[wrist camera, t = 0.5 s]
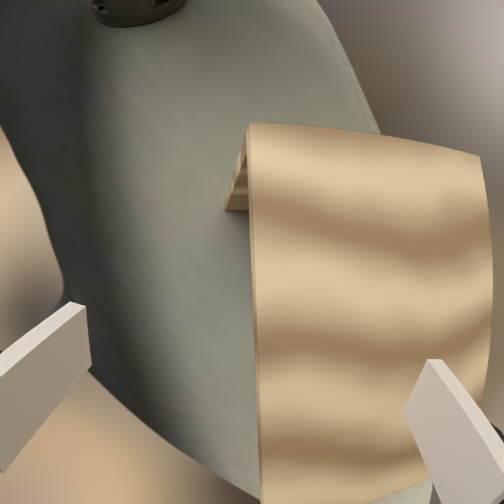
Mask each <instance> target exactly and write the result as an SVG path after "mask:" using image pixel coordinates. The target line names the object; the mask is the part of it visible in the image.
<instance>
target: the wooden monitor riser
mask: <svg viewBox="0 0 504 504" xmlns="http://www.w3.org/2000/svg"><path fill="white" fill-rule="evenodd" d="M230 210H249V220H250V247H251V273H252V298H253V324H254V349H255V375H256V400H257V425H258V449H259V474H260V498H261V504H367V503H370V502H373V501H376V500H378V499H381V498H384V497H386V496H389V495H392V494H394V493H397V492H399V491H401V490H404V489H406V488H408V487H411V486H413V485H415V484H417V483H420V482H422V481H424V480H426V479H428V478H430V477H431V476H430V474H429V472H428V469H427V467H426V465H425V462H424V460H423V458H422V455H421V453H420V451H419V448H418V446H417V444H416V442H415V440H414V437H413V435H412V433H411V431H410V428H409V426H408V424H407V422H406V420H405V418H404V416H403V413H402V410H403V408H404V406H405V405H406V403H407V401H408V399H409V397H410V395H411V393H412V391H413V389H414V387H415V385H416V383H417V380H418V378H419V376H420V374H421V372H422V370H423V367H424V365H425V363H426V361H427V359H442V360H443V361H444V363H445V364H446V365H447V366H448V368H449V369H450V370H451V371H452V373H453V374H454V375H455V377H456V378H457V379H458V380H459V382H460V383H461V384H462V386H463V387H464V388H465V390H466V391H467V392H468V394H469V395H470V396H471V398H472V399H473V400H474V402H475V403H476V404H477V406H478V407H479V408H480V405H481V401H482V396H483V390H484V385H485V379H486V372H487V365H488V357H489V349H490V339H491V326H492V307H493V264H492V244H491V231H490V221H489V212H488V204H487V197H486V191H485V184H484V178H483V173H482V168H481V163H480V158H479V156H476V155H473V154H469V153H465V152H462V151H458V150H453V149H449V148H445V147H441V146H436V145H431V144H427V143H422V142H417V141H412V140H407V139H401V138H396V137H391V136H385V135H378V134H372V133H365V132H358V131H350V130H342V129H334V128H324V127H314V126H303V125H289V124H272V123H249V125H248V128H247V131H246V134H245V137H244V140H243V143H242V146H241V149H240V153H239V156H238V159H237V162H236V165H235V168H234V171H233V175H232V178H231V181H230V184H229V188H228V191H227V194H226V197H225V211H230Z"/></svg>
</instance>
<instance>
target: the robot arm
mask: <svg viewBox="0 0 504 504" xmlns="http://www.w3.org/2000/svg"><path fill="white" fill-rule="evenodd" d="M184 2H185V0H91V7H92V10H93V13H94V16H95V17H96V19H97V20H98V21H99V22H101V23H103V24H105V25H109V26H114V27H129V26H137V25H142V24H146V23H149V22H152V21H155V20H158V19H160V18H163V17H165V16H167V15H169V14H170V13H172V12H174V11H175V10H176V9H178V8H179V7H180V6H181V5H182V4H183V3H184ZM91 365H92V363H91V355H90V347H89V338H88V328H87V316H86V306H83V305H80V304H76V303H73V302H69V303H68V304H66V305H65V306H63V307H62V308H61V309H59V310H58V311H56V312H55V313H54V314H52V315H51V316H50V317H48V318H47V319H46V320H44V321H43V322H41V323H40V324H39V325H37V326H36V327H35V328H33V329H32V330H31V331H29V332H28V333H27V334H25V335H24V336H23V337H21V338H20V339H19V340H17V341H16V342H15V343H14V344H12V345H11V346H10V347H9V348H7V349H6V350H5V351H3V352H2V351H0V472H2V473H4V472H5V471H6V470H7V468H8V467H9V466H10V464H11V463H12V462H13V461H14V459H15V458H16V457H17V455H18V454H19V453H20V451H21V450H22V449H23V448H24V446H25V445H26V444H27V443H28V441H29V440H30V439H31V437H32V436H33V435H34V434H35V432H36V431H37V430H38V429H39V427H40V426H41V425H42V424H43V422H44V421H45V420H46V419H47V417H48V416H49V415H50V414H51V413H52V411H53V410H54V409H55V408H56V407H57V405H58V404H59V403H60V402H61V400H62V399H63V398H64V397H65V396H66V395H67V393H68V392H69V391H70V390H71V388H72V387H73V386H74V385H75V384H76V383H77V382H78V380H79V379H80V378H81V377H82V376H83V374H84V373H85V372H86V371H87V370H88V369H89V367H90V366H91ZM402 413H403V416H404V418H405V420H406V422H407V424H408V426H409V428H410V431H411V433H412V435H413V437H414V440H415V442H416V444H417V446H418V448H419V451H420V453H421V455H422V458H423V460H424V462H425V465H426V467H427V469H428V472H429V474H430V476H431V479H432V481H433V484H434V486H435V488H436V491H437V493H438V496H439V499H440V501H441V503H442V504H504V435H503V434H502V432H501V431H500V430H499V429H498V428H496V427H495V426H494V425H493V424H492V423H490V422H489V421H488V419H487V418H486V417H485V415H484V414H483V413H482V411H481V410H480V408H479V407H478V406H477V404H476V403H475V402H474V400H473V399H472V398H471V396H470V395H469V394H468V392H467V391H466V390H465V388H464V387H463V386H462V384H461V383H460V382H459V380H458V379H457V378H456V377H455V375H454V374H453V373H452V371H451V370H450V369H449V368H448V366H447V365H446V364H445V363H444V361H443V360H442V359H427V361H426V363H425V365H424V367H423V370H422V372H421V374H420V376H419V378H418V380H417V383H416V385H415V387H414V389H413V391H412V393H411V395H410V397H409V399H408V401H407V403H406V405H405V406H404V408H403V410H402Z"/></svg>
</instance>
